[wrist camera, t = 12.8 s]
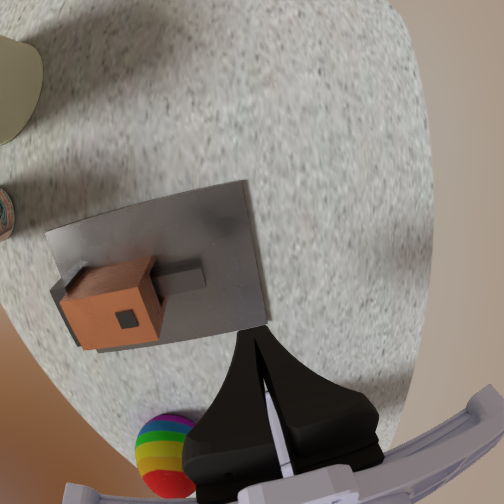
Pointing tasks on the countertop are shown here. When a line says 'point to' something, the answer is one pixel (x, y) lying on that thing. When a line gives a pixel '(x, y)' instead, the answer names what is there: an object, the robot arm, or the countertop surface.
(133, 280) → the orange block
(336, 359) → the countertop surface
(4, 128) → the can
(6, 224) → the beer can
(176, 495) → the decorative egg
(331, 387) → the robot arm
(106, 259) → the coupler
